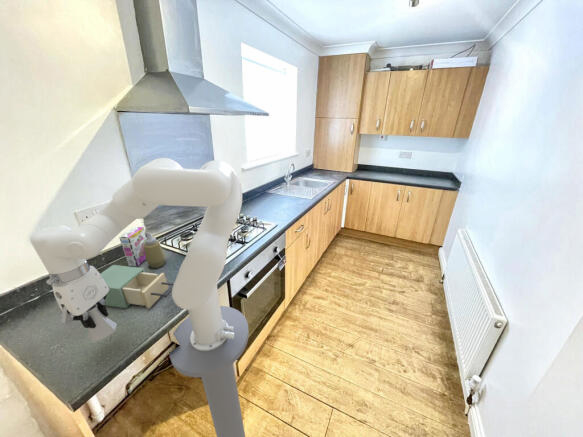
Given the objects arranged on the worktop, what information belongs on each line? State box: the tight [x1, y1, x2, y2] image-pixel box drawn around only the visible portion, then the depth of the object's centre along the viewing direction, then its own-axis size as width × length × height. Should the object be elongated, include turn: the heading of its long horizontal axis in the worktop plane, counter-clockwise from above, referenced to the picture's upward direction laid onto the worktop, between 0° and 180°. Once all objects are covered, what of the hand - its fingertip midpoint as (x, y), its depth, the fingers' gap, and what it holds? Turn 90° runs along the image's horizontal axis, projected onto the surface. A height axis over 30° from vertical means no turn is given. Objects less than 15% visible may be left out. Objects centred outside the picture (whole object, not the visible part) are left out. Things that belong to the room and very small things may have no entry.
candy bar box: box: [118, 226, 147, 268], centre depth 115 cm, size 11×5×16 cm, turn 177°
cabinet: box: [100, 264, 146, 309], centre depth 94 cm, size 15×13×10 cm
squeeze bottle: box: [144, 231, 166, 269], centre depth 111 cm, size 8×8×18 cm
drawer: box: [121, 272, 174, 309], centre depth 92 cm, size 20×11×8 cm, turn 81°
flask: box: [87, 304, 118, 343], centre depth 69 cm, size 7×7×10 cm
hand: (97, 320), depth 69 cm, fingers closed on flask, 3 cm apart
